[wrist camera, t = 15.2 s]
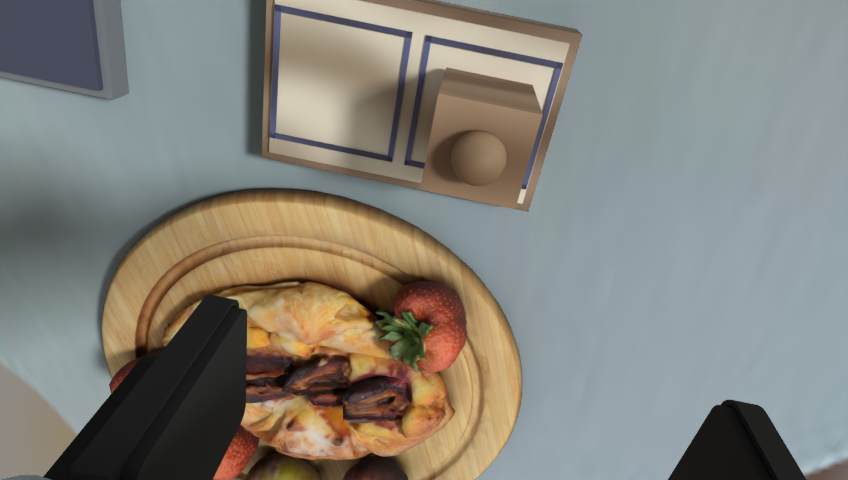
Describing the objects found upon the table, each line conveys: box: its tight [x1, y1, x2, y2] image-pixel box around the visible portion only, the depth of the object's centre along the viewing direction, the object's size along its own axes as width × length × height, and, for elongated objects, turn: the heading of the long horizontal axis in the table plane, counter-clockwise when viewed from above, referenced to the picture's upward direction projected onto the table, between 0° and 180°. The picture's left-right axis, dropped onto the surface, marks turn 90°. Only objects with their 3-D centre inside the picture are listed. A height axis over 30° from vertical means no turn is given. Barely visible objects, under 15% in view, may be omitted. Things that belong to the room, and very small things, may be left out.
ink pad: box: [0, 0, 129, 100], centre depth 30 cm, size 9×7×2 cm
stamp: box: [420, 67, 543, 209], centre depth 26 cm, size 4×4×8 cm
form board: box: [262, 0, 582, 212], centre depth 30 cm, size 10×16×2 cm, turn 80°
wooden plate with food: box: [102, 189, 522, 480], centre depth 39 cm, size 32×32×8 cm
